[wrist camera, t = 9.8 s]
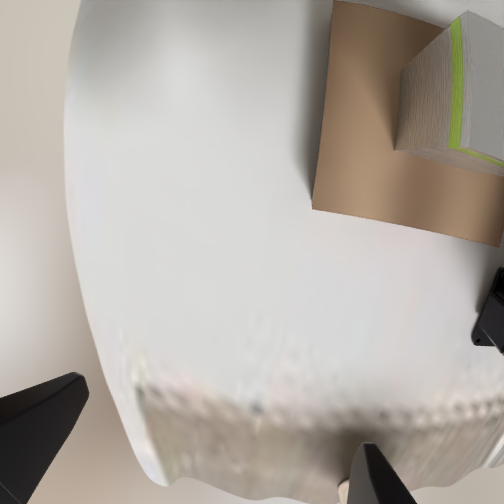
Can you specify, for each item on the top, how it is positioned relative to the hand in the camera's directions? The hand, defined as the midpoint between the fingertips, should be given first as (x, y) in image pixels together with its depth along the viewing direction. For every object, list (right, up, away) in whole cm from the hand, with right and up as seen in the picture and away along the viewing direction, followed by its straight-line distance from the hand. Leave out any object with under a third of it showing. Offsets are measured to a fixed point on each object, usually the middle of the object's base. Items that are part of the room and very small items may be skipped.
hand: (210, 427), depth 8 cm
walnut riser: (+11, +13, +8) cm, 19 cm away
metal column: (+11, +12, +5) cm, 17 cm away
